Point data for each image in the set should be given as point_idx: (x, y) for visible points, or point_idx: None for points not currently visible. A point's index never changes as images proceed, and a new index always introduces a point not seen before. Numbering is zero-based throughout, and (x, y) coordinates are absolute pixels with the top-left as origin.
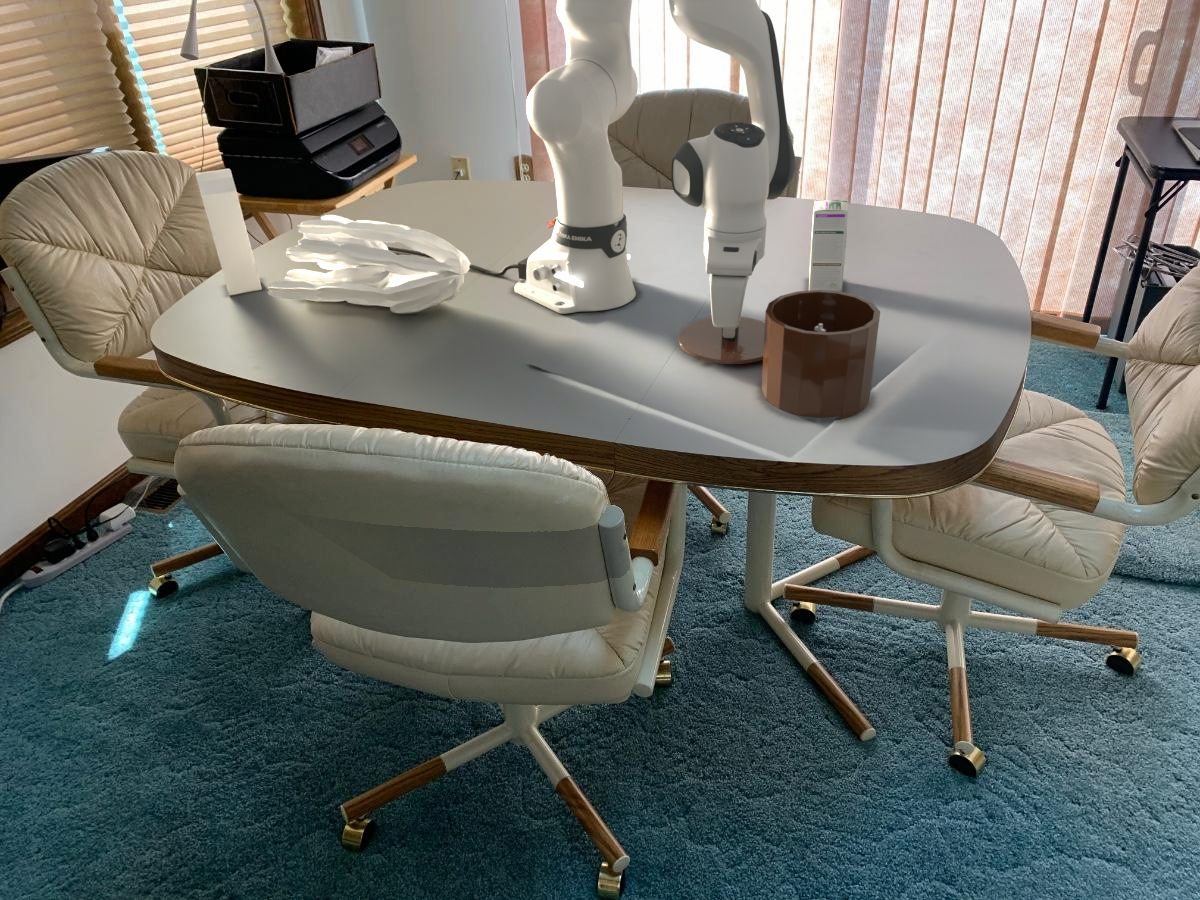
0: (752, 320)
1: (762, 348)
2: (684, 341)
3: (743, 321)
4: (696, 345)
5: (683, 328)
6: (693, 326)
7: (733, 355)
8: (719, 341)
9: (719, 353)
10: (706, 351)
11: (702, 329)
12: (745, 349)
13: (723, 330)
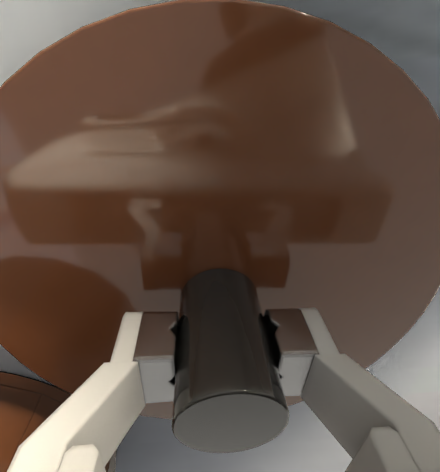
0: (376, 348)
1: None
2: (113, 65)
3: (373, 325)
4: (78, 157)
5: (332, 33)
6: (356, 109)
7: (36, 325)
8: (164, 264)
9: (29, 277)
10: (22, 219)
11: (307, 170)
12: (111, 353)
13: (115, 342)
